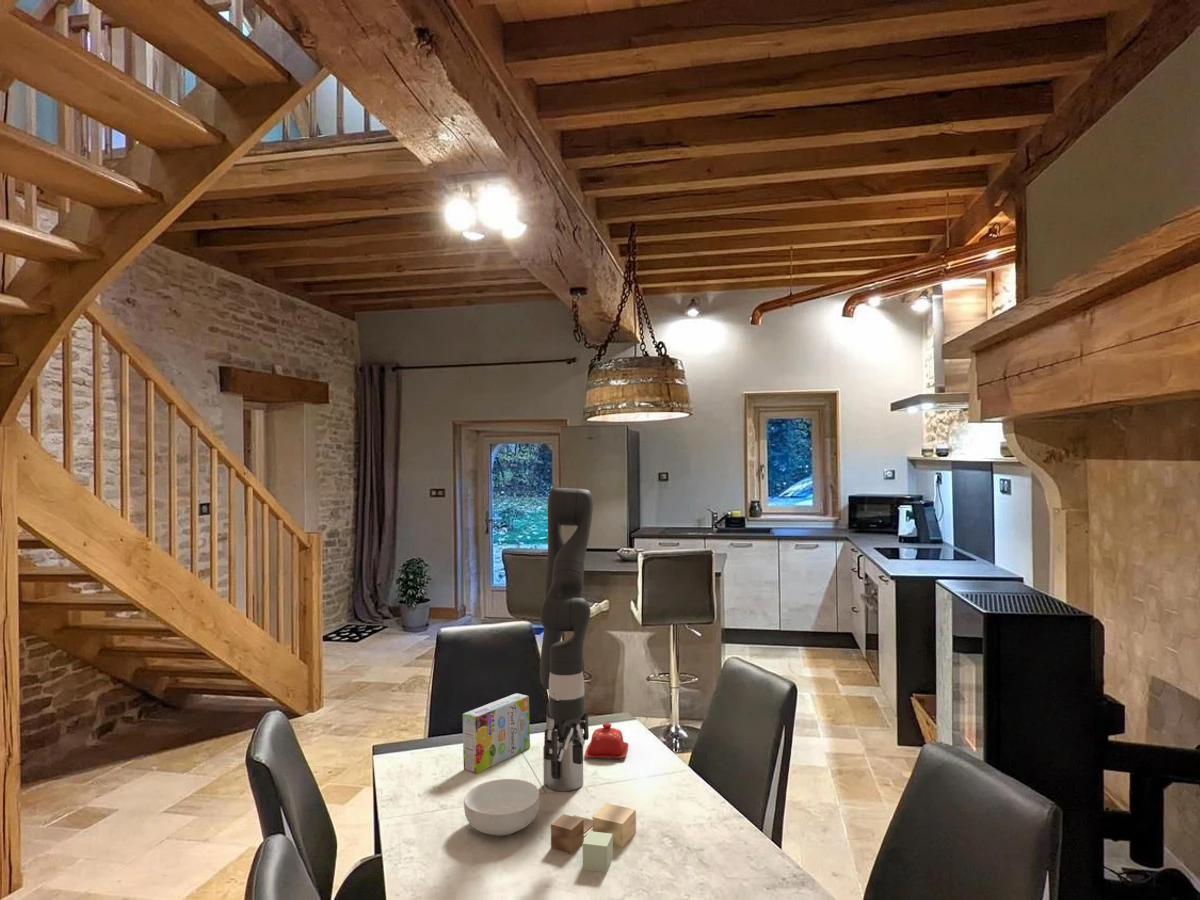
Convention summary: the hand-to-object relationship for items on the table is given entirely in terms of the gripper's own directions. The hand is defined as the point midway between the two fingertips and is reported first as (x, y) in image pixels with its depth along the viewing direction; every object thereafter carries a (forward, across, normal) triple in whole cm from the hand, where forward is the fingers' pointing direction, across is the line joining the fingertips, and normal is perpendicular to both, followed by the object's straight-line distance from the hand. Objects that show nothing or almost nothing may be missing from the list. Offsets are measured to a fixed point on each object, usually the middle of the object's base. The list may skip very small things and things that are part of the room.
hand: (567, 770), depth 146 cm
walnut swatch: (+15, -8, -2) cm, 18 cm away
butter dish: (+16, -48, -16) cm, 53 cm away
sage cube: (+16, +3, +9) cm, 18 cm away
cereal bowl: (+16, 0, -17) cm, 23 cm away
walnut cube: (+16, 0, 0) cm, 16 cm away
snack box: (+15, -30, -41) cm, 53 cm away
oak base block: (+16, -8, +7) cm, 19 cm away
